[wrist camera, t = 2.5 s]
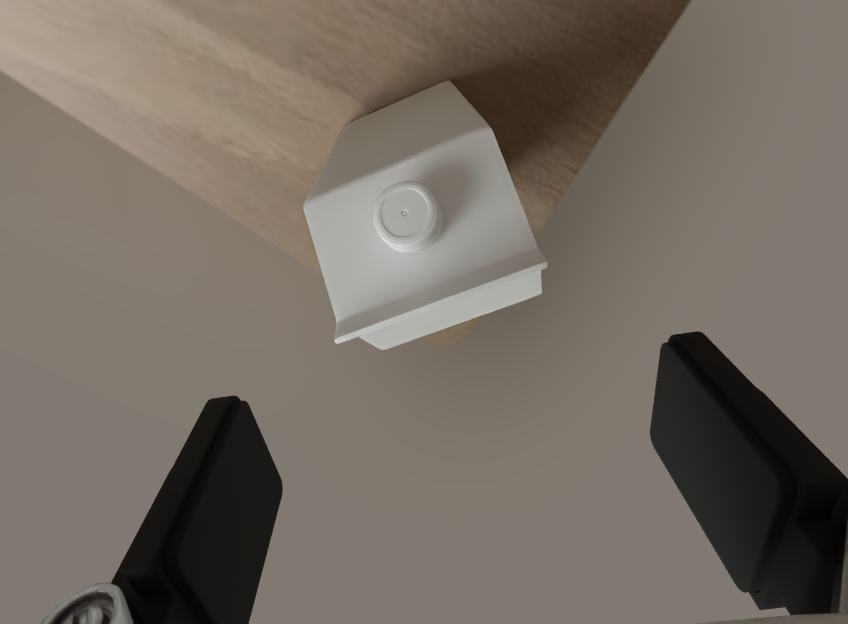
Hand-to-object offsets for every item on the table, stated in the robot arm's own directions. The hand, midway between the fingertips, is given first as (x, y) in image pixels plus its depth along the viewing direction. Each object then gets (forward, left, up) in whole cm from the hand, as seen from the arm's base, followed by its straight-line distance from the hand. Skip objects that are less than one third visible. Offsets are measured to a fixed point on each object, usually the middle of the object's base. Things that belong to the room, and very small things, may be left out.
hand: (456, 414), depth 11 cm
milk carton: (0, 0, -24) cm, 24 cm away
